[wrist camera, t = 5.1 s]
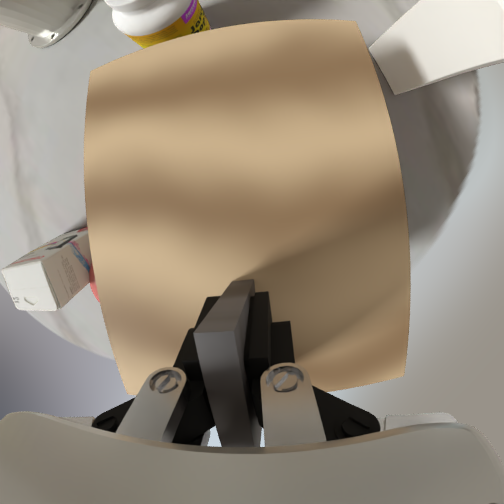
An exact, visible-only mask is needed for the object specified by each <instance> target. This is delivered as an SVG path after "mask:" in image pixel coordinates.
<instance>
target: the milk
mask: <svg viewBox="0 0 504 504" xmlns="http://www.w3.org/2000/svg"><path fill="white" fill-rule="evenodd" d="M368 49H369V51H370V53H371V54H372V56H373V57H374V59H375V61H376V62H377V64H378V66H379V67H380V69H381V71H382V73H383V74H384V76H385V78H386V80H387V82H388V84H389V85H390V87H391V89H392V91H393V93H394V95H398V94H401V93H404V92H407V91H410V90H413V89H416V88H419V87H422V86H426V85H429V84H432V83H435V82H438V81H441V80H444V79H447V78H450V77H453V76H456V75H459V74H463V73H466V72H469V71H473V70H476V69H480V68H483V67H487V66H491V65H495V64H499V63H503V62H504V0H420V1H419V2H418V3H417V4H415V5H414V6H413V7H412V8H411V9H410V10H409V11H408V12H406V13H405V14H404V15H403V16H402V17H401V18H400V19H399V20H398V21H397V22H395V23H394V24H393V25H392V26H391V27H390V28H389V29H388V30H387V31H386V32H385V33H384V34H383V35H382V36H381V37H380V38H378V39H377V40H376V41H375V42H374V43H373V44H372V45H371V46H370V47H369V48H368Z"/></svg>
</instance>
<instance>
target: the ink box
mask: <svg viewBox="0 0 504 504" xmlns="http://www.w3.org/2000/svg"><path fill="white" fill-rule="evenodd" d="M91 263H92V257H91V250H90V243H89V235H88V227H86V228H83V229H79V230H76V231H72V232H69V233H65V234H62V235H60V236H58V237H56V238H54V239H52V240H51V241H49V242H47V243H45V244H44V245H42V246H40V247H38V248H36V249H35V250H33V251H31V252H29V253H28V254H26V255H24V256H23V257H21V258H19V259H18V260H16V261H14V262H13V263H11V264H10V265H8V266H6V267H5V268H3V269H2V270H1V271H2V274H3V277H4V280H5V283H6V285H7V288H8V290H9V293H10V295H11V297H12V300H13V302H14V304H15V307H16V308H18V309H19V310H34V311H39V310H43V311H56V310H57V309H61V308H62V307H63V306H64V305H66V304H67V303H68V302H69V301H70V300H71V299H72V298H73V297H74V296H75V295H76V294H77V293H78V292H79V291H80V290H82V289H83V288H84V287H85V286H86V285H87V284H88V283H89V282H90V280H89V270H90V266H91Z"/></svg>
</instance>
